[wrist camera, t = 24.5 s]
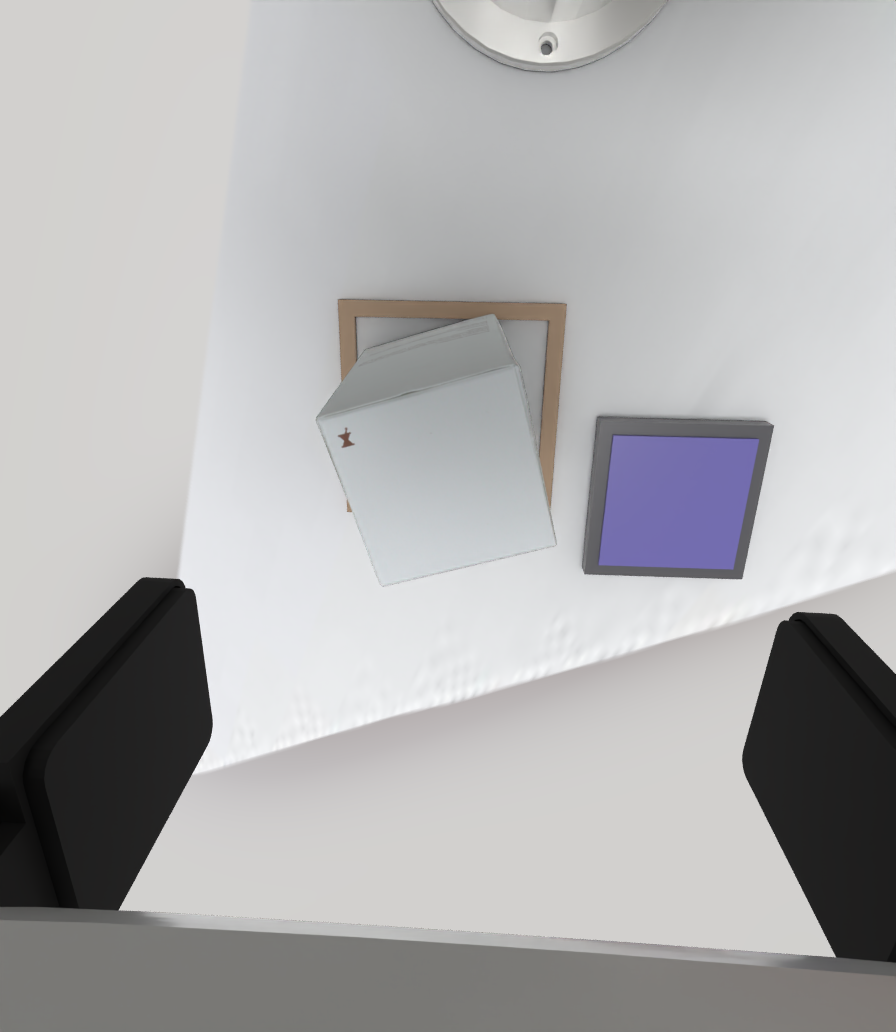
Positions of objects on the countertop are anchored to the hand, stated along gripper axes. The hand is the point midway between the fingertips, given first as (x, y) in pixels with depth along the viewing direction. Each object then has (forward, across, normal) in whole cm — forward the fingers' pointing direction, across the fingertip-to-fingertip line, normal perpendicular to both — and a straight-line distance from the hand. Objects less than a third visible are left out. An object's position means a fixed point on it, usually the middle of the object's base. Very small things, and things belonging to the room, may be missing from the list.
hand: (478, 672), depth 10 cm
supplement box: (+26, +2, +1) cm, 26 cm away
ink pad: (+26, -11, +6) cm, 29 cm away
